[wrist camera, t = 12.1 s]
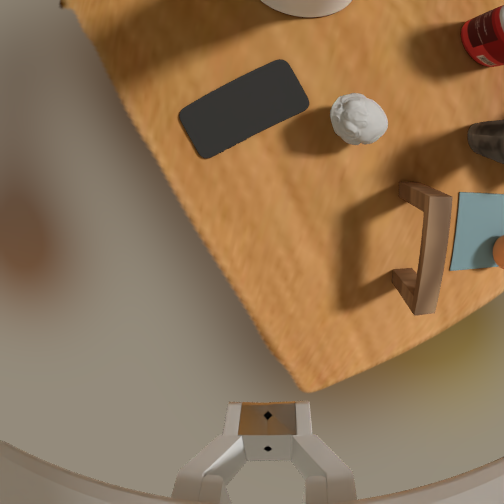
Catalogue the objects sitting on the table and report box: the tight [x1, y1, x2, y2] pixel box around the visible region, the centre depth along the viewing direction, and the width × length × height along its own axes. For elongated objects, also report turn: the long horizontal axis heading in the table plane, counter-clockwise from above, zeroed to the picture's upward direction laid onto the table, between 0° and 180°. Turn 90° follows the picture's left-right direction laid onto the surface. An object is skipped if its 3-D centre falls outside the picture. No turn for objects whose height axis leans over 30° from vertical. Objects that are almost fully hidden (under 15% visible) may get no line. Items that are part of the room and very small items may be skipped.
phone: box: [179, 60, 309, 158], centre depth 35 cm, size 7×1×15 cm
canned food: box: [461, 5, 504, 67], centre depth 23 cm, size 8×8×11 cm
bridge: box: [392, 182, 452, 316], centre depth 35 cm, size 3×14×9 cm, turn 4°
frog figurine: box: [330, 93, 388, 145], centre depth 32 cm, size 6×7×7 cm
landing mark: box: [450, 192, 504, 271], centre depth 38 cm, size 12×12×1 cm
